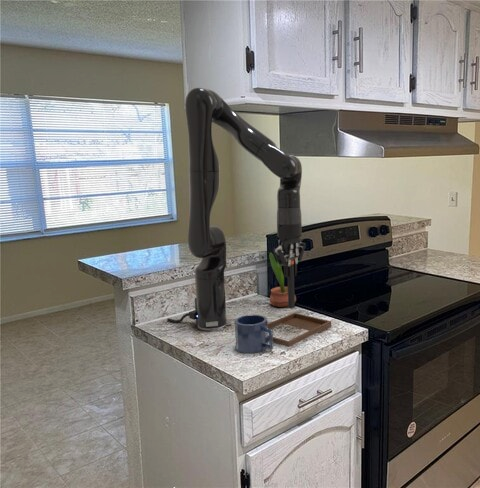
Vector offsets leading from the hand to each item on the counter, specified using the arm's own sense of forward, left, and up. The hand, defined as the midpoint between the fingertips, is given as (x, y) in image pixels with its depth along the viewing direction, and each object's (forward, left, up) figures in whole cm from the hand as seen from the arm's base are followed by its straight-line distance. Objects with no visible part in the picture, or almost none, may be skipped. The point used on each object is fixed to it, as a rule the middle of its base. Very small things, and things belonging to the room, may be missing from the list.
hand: (290, 276), depth 153 cm
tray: (0, 0, -18) cm, 18 cm away
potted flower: (-21, +21, -19) cm, 35 cm away
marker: (0, 0, -10) cm, 10 cm away
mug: (+1, -17, -18) cm, 25 cm away
